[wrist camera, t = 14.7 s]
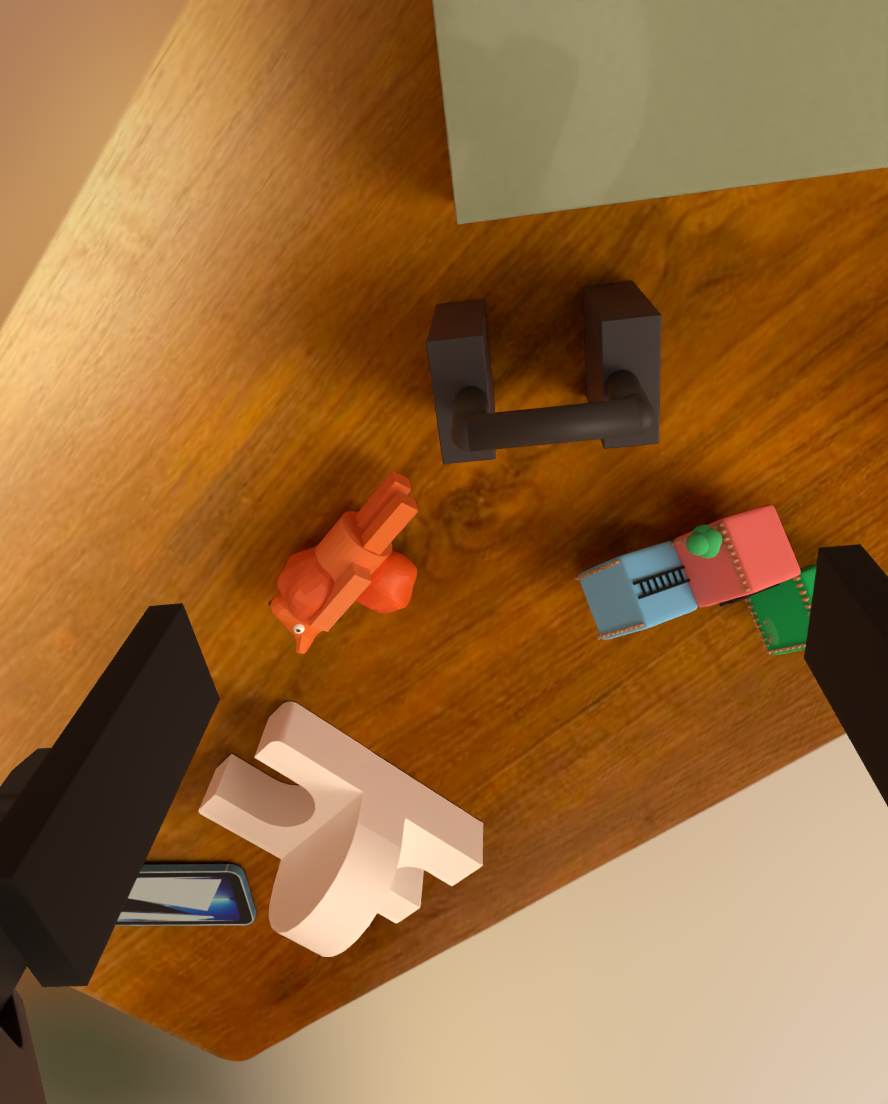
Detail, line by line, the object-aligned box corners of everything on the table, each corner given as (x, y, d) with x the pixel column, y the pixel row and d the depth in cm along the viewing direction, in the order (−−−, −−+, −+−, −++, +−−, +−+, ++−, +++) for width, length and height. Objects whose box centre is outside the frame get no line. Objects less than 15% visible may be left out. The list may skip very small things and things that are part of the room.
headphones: (436, 304, 37) (416, 373, 27) (633, 280, 36) (686, 343, 26) (450, 411, 40) (436, 509, 30) (633, 392, 38) (681, 487, 29)
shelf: (426, -135, 28) (409, -202, 22) (923, -229, 26) (1051, -330, 20) (462, 205, 34) (456, 225, 28) (869, 150, 32) (956, 158, 26)
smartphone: (256, 925, 63) (85, 926, 64) (259, 915, 64) (90, 916, 65) (239, 870, 59) (58, 871, 60) (242, 860, 60) (63, 861, 61)
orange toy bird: (370, 499, 36) (247, 648, 41) (483, 554, 40) (358, 683, 45) (358, 441, 40) (246, 585, 45) (462, 497, 44) (349, 623, 49)
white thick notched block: (483, 822, 56) (481, 967, 46) (401, 880, 60) (384, 1024, 51) (288, 698, 51) (242, 833, 41) (213, 770, 55) (155, 908, 45)
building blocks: (712, 531, 48) (570, 575, 42) (822, 486, 41) (670, 532, 35) (759, 648, 46) (620, 710, 41) (881, 623, 39) (734, 693, 34)
